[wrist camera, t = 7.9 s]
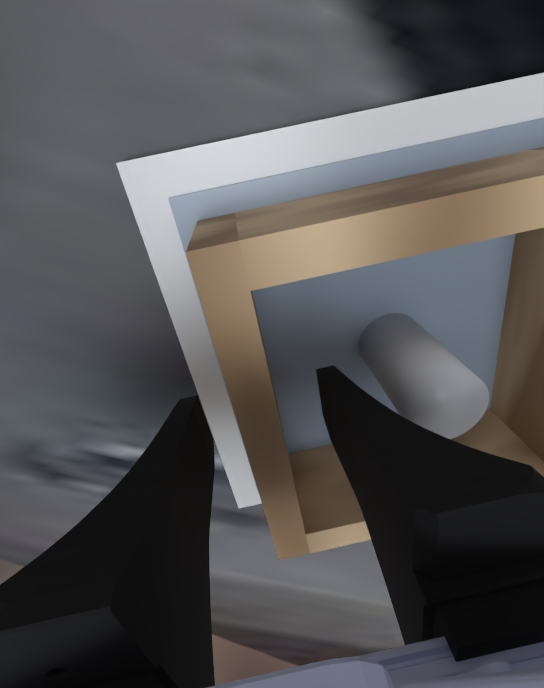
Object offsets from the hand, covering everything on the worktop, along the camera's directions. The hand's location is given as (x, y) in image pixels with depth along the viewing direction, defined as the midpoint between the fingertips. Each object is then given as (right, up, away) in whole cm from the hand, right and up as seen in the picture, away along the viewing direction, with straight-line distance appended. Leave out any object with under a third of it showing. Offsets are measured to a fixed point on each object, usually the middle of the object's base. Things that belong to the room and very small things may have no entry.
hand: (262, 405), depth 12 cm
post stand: (+5, +3, +3) cm, 6 cm away
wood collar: (+5, +2, +2) cm, 6 cm away
